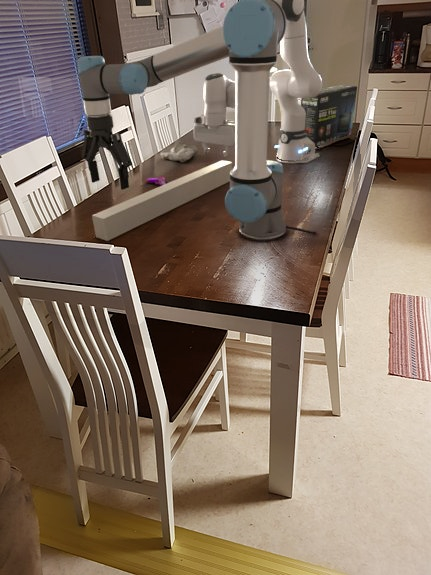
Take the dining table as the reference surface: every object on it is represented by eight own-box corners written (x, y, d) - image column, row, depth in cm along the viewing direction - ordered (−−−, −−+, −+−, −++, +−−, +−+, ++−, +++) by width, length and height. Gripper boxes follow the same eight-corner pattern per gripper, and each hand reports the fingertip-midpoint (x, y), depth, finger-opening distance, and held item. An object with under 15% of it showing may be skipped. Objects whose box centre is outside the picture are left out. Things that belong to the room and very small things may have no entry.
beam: (107, 241, 148) (103, 218, 144) (95, 237, 151) (91, 215, 147) (232, 179, 197) (232, 162, 193) (222, 177, 200) (221, 160, 196)
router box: (314, 151, 231) (318, 94, 217) (296, 148, 237) (299, 92, 224) (352, 138, 251) (358, 85, 238) (335, 135, 258) (340, 83, 245)
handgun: (147, 181, 199) (146, 177, 198) (164, 179, 200) (164, 175, 199) (150, 197, 182) (149, 192, 181) (169, 195, 183) (169, 190, 182)
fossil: (184, 156, 217) (163, 136, 220) (174, 174, 223) (154, 154, 227) (205, 153, 231) (186, 134, 234) (195, 171, 237) (176, 152, 240)
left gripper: (138, 116, 131) (146, 187, 142) (81, 109, 144) (93, 175, 155) (119, 121, 126) (129, 195, 137) (61, 113, 139) (75, 181, 150)
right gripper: (241, 120, 177) (241, 156, 184) (200, 115, 187) (201, 149, 194) (232, 123, 173) (232, 160, 180) (190, 118, 183) (192, 153, 190)
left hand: (110, 184), depth 146 cm, fingers open, 13 cm apart
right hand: (216, 154), depth 187 cm, fingers open, 8 cm apart
